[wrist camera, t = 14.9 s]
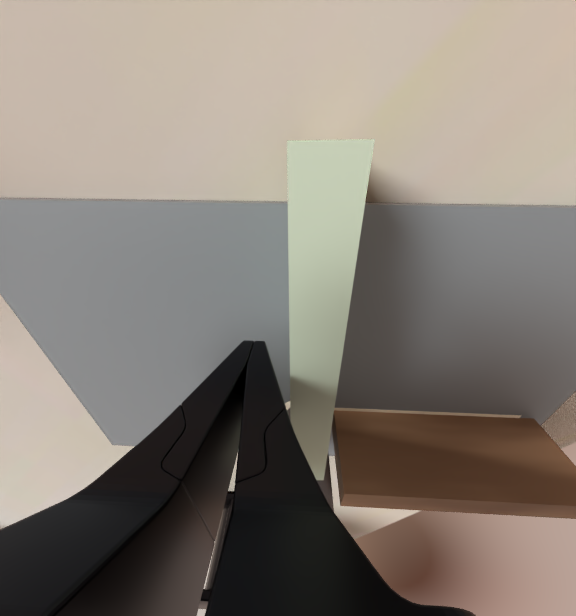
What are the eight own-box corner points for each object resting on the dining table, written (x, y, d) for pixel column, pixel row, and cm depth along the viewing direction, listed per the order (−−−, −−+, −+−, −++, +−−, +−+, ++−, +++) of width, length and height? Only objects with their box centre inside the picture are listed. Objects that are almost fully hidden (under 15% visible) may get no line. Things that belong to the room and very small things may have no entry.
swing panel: (293, 402, 15) (291, 478, 11) (293, 144, 8) (286, 140, 4) (318, 402, 15) (323, 480, 11) (340, 143, 8) (374, 139, 4)
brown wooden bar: (516, 436, 16) (592, 536, 12) (285, 425, 17) (280, 518, 12) (539, 413, 15) (633, 517, 11) (285, 402, 15) (279, 497, 11)
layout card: (498, 458, 18) (502, 464, 18) (115, 440, 19) (112, 445, 19) (741, 208, 9) (759, 210, 8) (-58, 196, 10) (-72, 198, 9)
